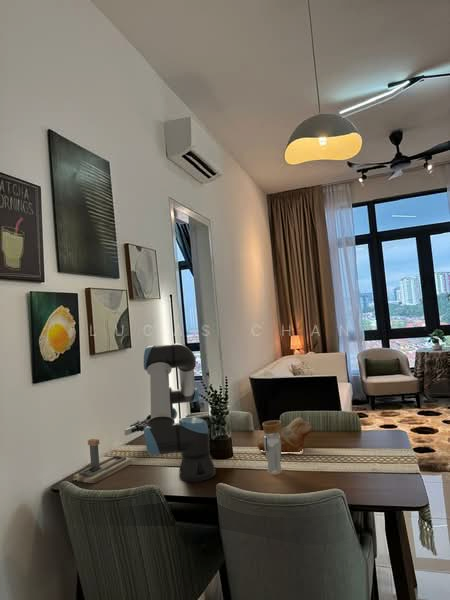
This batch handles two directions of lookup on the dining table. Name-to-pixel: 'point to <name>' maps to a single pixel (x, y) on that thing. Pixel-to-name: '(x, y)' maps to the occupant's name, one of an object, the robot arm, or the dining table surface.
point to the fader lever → (94, 454)
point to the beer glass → (273, 452)
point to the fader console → (103, 469)
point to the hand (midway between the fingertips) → (125, 432)
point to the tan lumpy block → (287, 434)
